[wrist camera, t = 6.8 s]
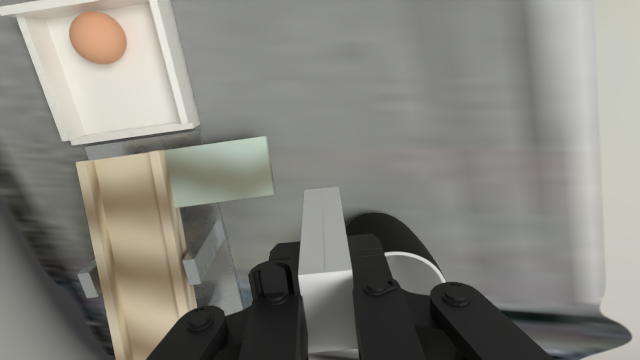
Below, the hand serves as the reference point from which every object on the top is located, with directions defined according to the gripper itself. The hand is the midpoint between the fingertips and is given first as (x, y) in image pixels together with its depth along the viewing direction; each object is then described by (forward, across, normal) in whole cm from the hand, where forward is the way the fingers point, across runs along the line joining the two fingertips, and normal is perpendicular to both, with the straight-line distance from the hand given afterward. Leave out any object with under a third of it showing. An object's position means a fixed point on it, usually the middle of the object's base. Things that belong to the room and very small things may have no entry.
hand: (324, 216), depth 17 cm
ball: (+17, -17, +10) cm, 26 cm away
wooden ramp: (+15, -12, -10) cm, 22 cm away
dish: (+20, -17, +7) cm, 27 cm away
